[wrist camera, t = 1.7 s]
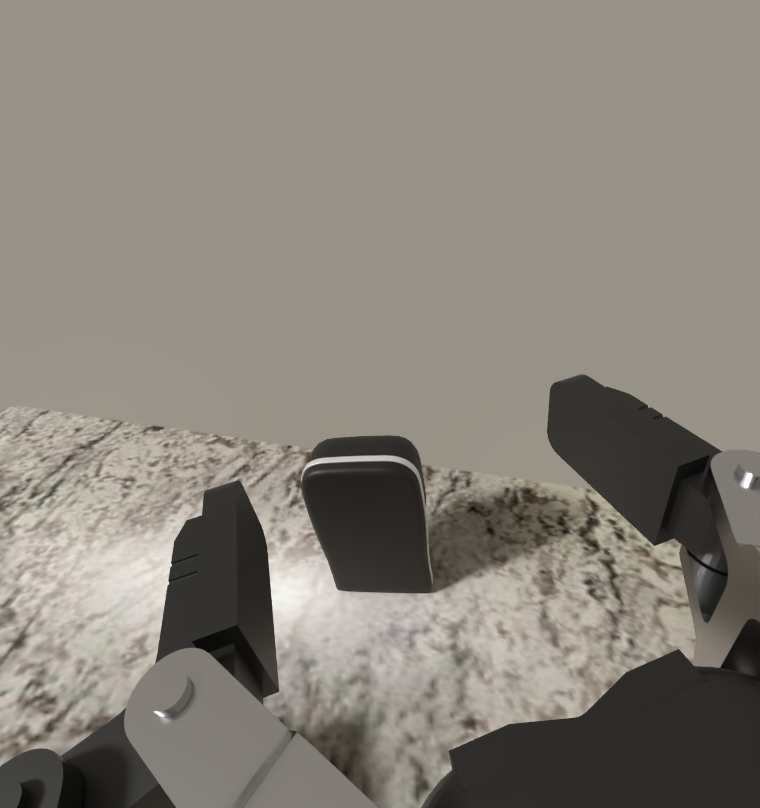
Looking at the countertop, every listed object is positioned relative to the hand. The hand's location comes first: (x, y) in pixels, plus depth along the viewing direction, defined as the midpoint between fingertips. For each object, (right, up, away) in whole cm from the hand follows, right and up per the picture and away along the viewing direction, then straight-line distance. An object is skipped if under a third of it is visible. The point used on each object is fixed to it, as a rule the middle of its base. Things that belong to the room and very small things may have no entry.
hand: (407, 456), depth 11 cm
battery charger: (0, -11, +20) cm, 23 cm away
